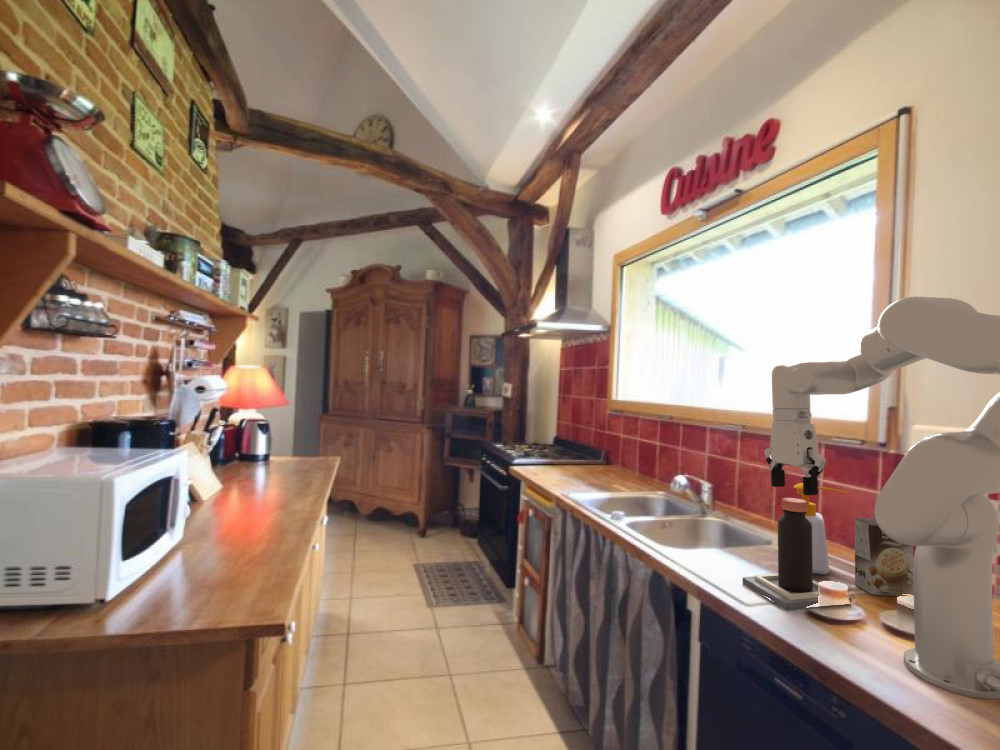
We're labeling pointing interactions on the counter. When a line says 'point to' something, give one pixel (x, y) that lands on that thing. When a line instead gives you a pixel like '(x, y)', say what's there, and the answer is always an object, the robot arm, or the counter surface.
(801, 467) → the robot arm
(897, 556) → the cookie box
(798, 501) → the vinegar
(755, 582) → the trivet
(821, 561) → the soap bottle
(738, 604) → the counter surface
